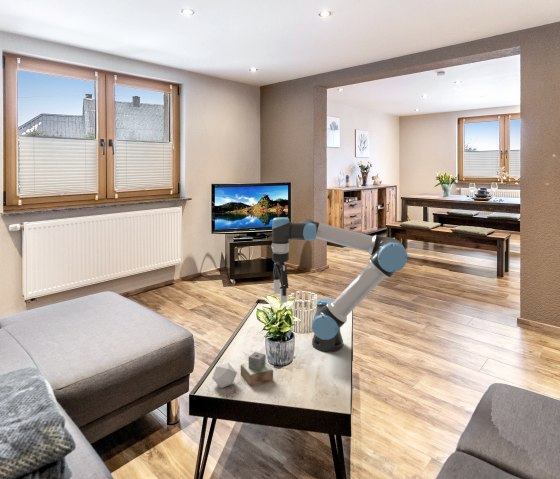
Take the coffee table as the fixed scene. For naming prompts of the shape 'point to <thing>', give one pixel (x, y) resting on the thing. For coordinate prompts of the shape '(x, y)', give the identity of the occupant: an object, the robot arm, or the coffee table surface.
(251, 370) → the walnut base
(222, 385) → the white faceted polyhedron
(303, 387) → the coffee table surface
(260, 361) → the grey cube
